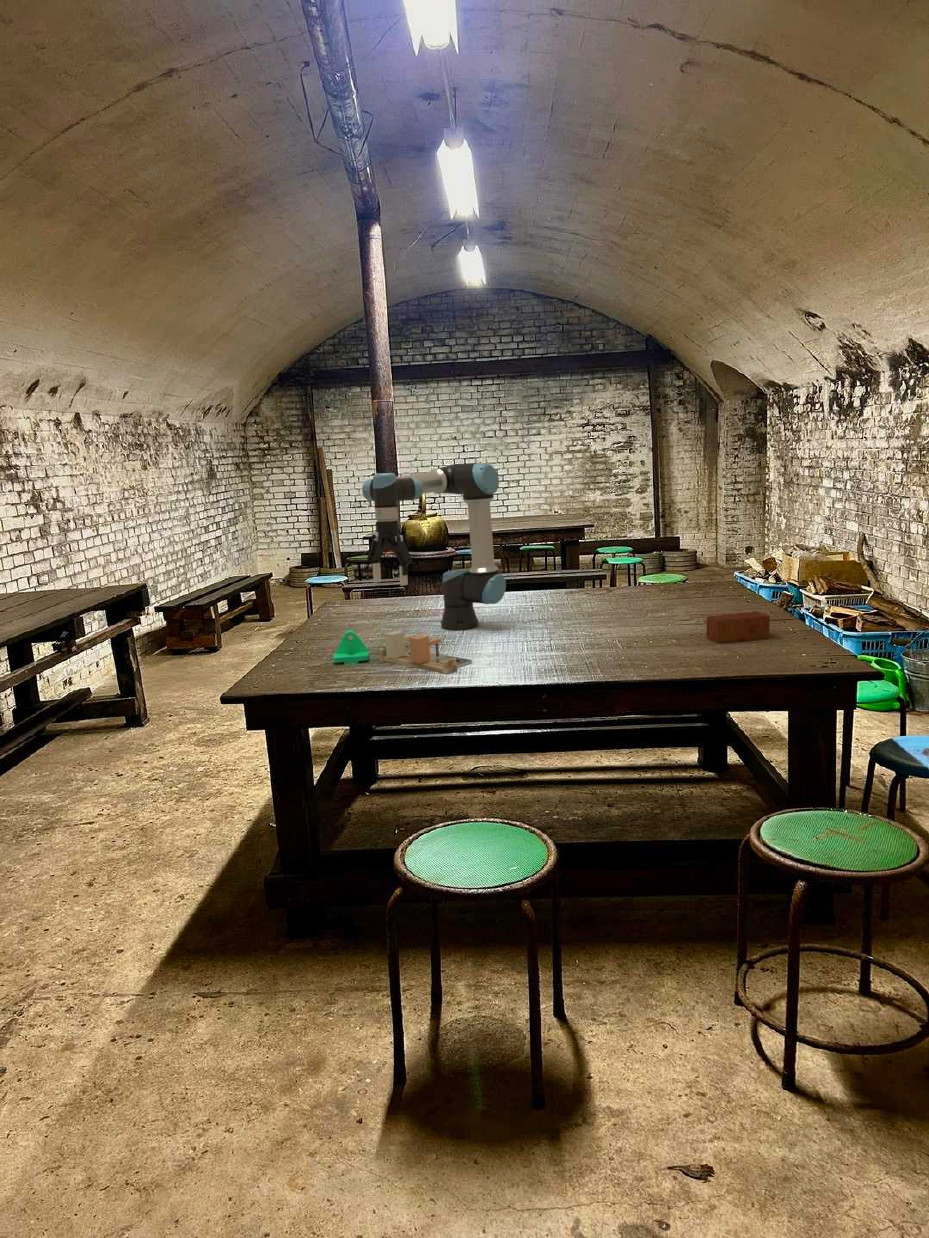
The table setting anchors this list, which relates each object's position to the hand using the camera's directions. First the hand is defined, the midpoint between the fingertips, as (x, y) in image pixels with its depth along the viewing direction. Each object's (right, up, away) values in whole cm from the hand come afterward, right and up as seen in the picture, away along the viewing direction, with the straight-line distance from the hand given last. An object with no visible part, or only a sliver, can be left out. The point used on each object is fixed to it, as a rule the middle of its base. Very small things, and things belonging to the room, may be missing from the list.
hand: (390, 583), depth 259 cm
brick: (+121, -19, +10) cm, 123 cm away
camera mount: (-14, -27, +7) cm, 31 cm away
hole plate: (+14, -26, +3) cm, 30 cm away
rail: (+9, -27, -3) cm, 29 cm away
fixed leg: (+4, -24, +5) cm, 25 cm away
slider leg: (+13, -25, -3) cm, 29 cm away
